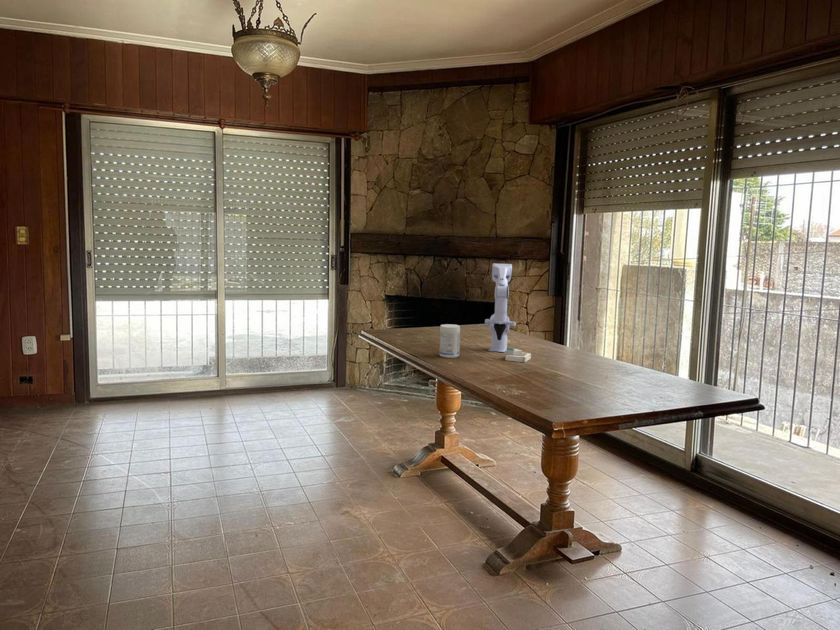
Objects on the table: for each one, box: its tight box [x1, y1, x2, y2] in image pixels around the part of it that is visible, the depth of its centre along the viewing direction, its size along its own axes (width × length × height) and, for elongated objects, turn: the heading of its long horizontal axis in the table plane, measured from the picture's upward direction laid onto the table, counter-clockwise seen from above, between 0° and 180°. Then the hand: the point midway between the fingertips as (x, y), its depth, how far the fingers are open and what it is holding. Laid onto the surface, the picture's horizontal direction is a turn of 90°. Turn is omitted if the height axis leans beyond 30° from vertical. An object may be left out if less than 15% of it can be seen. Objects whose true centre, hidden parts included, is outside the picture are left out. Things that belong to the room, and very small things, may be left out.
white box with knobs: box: [504, 346, 523, 358], centre depth 299 cm, size 7×5×6 cm
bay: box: [505, 351, 532, 363], centre depth 299 cm, size 11×9×2 cm
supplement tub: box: [438, 323, 461, 359], centre depth 300 cm, size 10×10×15 cm
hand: (499, 339), depth 302 cm, fingers closed
